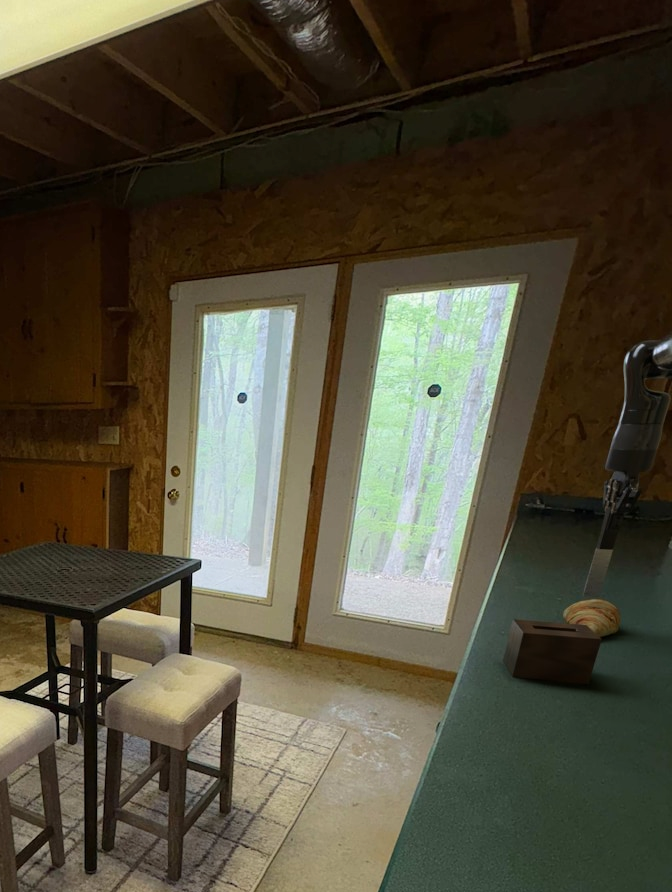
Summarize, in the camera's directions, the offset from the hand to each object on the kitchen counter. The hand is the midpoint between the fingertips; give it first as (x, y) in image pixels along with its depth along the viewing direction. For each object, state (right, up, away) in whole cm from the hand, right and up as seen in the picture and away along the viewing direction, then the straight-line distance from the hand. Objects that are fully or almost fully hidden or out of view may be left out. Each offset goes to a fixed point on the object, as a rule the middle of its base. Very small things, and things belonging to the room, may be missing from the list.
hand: (610, 530), depth 135 cm
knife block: (-25, -31, -14) cm, 42 cm away
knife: (0, -14, +6) cm, 15 cm away
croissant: (+2, -21, +8) cm, 23 cm away
